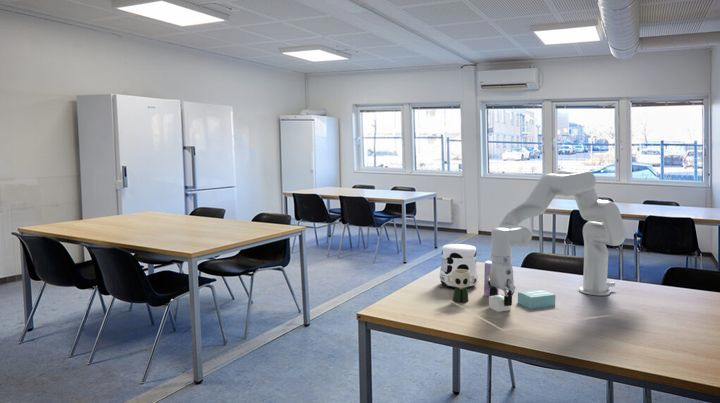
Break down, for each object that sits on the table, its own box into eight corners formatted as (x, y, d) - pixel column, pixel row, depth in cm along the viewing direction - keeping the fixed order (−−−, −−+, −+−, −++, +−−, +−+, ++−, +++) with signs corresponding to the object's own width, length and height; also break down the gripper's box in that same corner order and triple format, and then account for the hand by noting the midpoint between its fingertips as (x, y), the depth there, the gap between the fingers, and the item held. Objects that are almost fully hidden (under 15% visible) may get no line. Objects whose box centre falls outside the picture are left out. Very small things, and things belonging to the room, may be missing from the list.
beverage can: (498, 298, 226) (499, 263, 224) (484, 298, 227) (484, 263, 225) (498, 294, 232) (498, 260, 230) (483, 294, 233) (484, 260, 231)
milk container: (483, 284, 249) (484, 246, 247) (469, 293, 235) (470, 252, 233) (448, 279, 258) (448, 242, 256) (433, 287, 244) (433, 248, 242)
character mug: (448, 304, 219) (448, 272, 218) (446, 298, 226) (446, 268, 225) (475, 304, 218) (475, 273, 217) (472, 299, 225) (473, 268, 224)
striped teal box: (542, 300, 222) (542, 289, 222) (555, 305, 215) (555, 294, 214) (517, 303, 218) (517, 292, 218) (530, 308, 211) (530, 297, 210)
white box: (501, 305, 215) (502, 294, 214) (510, 310, 209) (511, 298, 209) (488, 307, 213) (489, 295, 212) (497, 311, 207) (497, 300, 207)
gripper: (522, 263, 202) (522, 307, 204) (496, 254, 218) (496, 295, 220) (505, 265, 199) (505, 309, 201) (480, 255, 216) (480, 297, 218)
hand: (500, 302), depth 211 cm, fingers open, 9 cm apart
